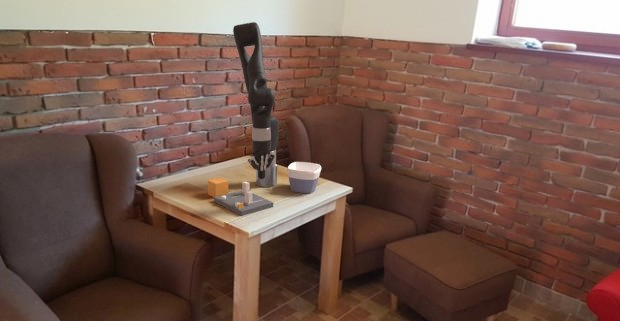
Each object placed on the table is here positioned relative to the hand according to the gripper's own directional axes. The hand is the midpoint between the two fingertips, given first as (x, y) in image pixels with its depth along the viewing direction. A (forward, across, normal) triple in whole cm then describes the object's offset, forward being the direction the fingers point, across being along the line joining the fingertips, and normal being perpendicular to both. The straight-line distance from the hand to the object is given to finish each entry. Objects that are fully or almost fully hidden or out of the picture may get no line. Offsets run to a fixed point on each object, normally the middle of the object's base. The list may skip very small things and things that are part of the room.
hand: (261, 178), depth 190 cm
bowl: (+13, -29, -4) cm, 32 cm away
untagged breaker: (+10, 0, -11) cm, 15 cm away
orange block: (+12, +6, -22) cm, 26 cm away
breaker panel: (+12, +5, -6) cm, 14 cm away
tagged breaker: (+10, +6, -1) cm, 12 cm away
